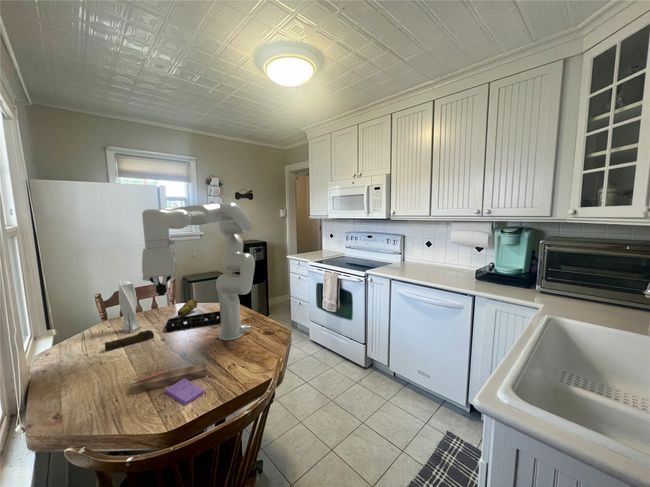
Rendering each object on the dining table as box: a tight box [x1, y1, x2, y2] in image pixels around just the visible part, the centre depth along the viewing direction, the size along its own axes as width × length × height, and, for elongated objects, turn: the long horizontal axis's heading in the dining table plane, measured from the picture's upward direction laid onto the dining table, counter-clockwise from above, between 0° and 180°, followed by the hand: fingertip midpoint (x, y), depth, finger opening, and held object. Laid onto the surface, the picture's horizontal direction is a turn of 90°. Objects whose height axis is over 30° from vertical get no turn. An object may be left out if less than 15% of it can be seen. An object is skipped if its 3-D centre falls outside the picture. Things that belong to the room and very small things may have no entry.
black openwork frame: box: [164, 310, 221, 333], centre depth 151 cm, size 18×30×4 cm, turn 125°
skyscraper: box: [118, 278, 143, 334], centre depth 142 cm, size 8×8×28 cm
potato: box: [177, 299, 198, 317], centre depth 165 cm, size 8×13×8 cm, turn 141°
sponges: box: [164, 378, 206, 406], centre depth 93 cm, size 7×13×2 cm, turn 58°
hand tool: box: [104, 329, 155, 352], centre depth 128 cm, size 19×4×5 cm, turn 128°
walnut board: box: [129, 362, 207, 395], centre depth 99 cm, size 24×5×3 cm, turn 114°
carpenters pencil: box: [131, 370, 167, 384], centre depth 97 cm, size 10×1×1 cm, turn 126°
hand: (161, 294), depth 96 cm, fingers closed
